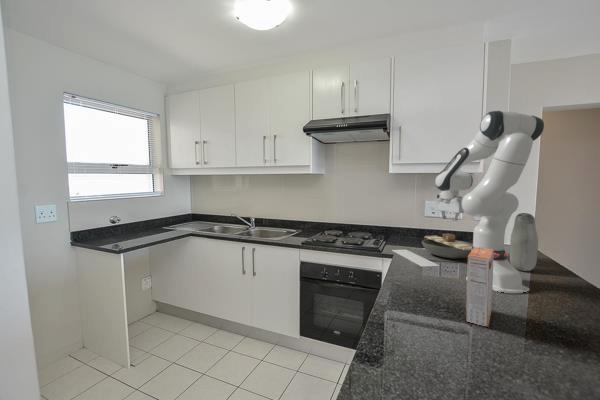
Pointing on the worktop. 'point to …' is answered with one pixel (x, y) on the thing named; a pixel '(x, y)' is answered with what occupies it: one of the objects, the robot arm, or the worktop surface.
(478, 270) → the cracker box
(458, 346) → the worktop surface
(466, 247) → the board
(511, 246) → the grey green vase
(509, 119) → the robot arm
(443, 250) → the bowl
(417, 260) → the mat
